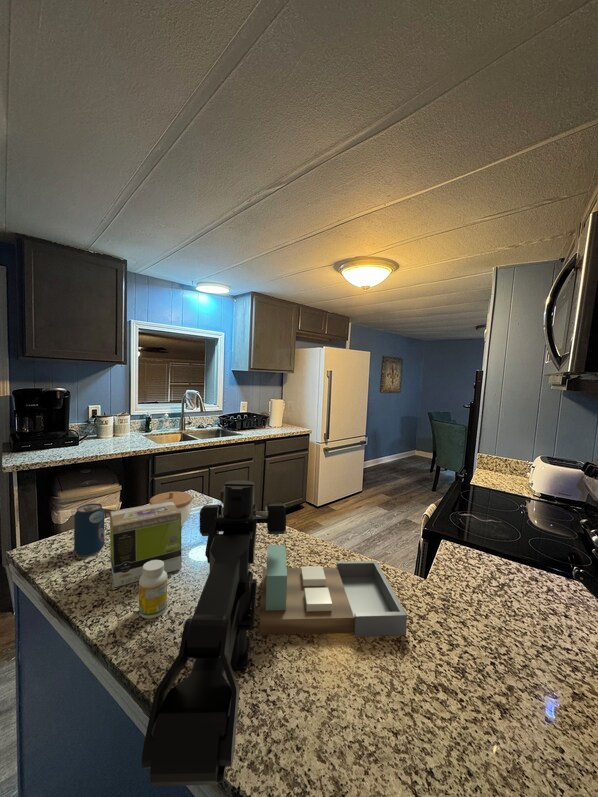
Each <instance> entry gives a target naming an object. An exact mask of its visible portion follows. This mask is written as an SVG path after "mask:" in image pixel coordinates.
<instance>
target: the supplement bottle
mask: <svg viewBox="0 0 598 797" xmlns="http://www.w3.org/2000/svg"><path fill="white" fill-rule="evenodd" d="M167 608H168V573H166V572H165V571H164V562H163V561H161V560H152V561H149V562H147V563H145V564H144V565H143V575H142V576H141V577H140V579H139V581H138V613H139V616H140V617H142V618H144V619H155V618H157V617H159V616H161V615H162V614H164V613H165V611H166V610H167Z"/></svg>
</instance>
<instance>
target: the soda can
mask: <svg viewBox="0 0 598 797" xmlns="http://www.w3.org/2000/svg"><path fill="white" fill-rule="evenodd" d="M73 526H74V527H73V541H74V542H73V545H74V546H73V550H74V552H75V553H76V554H77V556H81V557H87V556H93V555H95V554H97V553H99V552H101V550H103V547H104V545H105V543H106V542H105V510H104V508H103V506H102V504H100V503H86V504H84V505H81V506H78V507H76V512H75V513H74V514H73Z"/></svg>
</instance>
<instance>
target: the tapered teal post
mask: <svg viewBox="0 0 598 797" xmlns="http://www.w3.org/2000/svg"><path fill="white" fill-rule="evenodd" d="M266 549H267V554H266V561H267V562H266V568H267V580H266V610H286V598H287V568H288V567H287V566H288V565H287V557H286V556H287V554H286V553H287V552H286V545H285V544H267V548H266Z"/></svg>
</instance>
